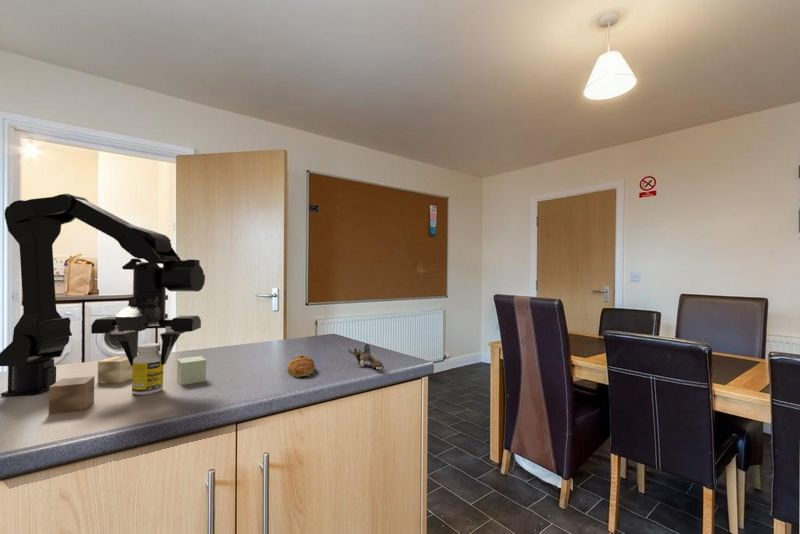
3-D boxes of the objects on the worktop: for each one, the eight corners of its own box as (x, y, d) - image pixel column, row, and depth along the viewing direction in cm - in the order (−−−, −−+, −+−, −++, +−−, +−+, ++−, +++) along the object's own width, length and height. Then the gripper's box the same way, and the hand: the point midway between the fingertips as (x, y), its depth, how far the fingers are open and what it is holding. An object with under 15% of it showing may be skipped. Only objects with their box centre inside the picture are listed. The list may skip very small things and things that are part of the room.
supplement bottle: (147, 396, 74) (148, 348, 74) (125, 394, 75) (126, 346, 75) (169, 388, 79) (170, 343, 79) (148, 386, 80) (149, 341, 80)
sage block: (181, 385, 82) (181, 363, 82) (177, 380, 85) (177, 358, 85) (205, 381, 85) (206, 359, 85) (200, 376, 89) (201, 355, 89)
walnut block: (48, 415, 64) (49, 386, 64) (60, 405, 69) (61, 379, 69) (84, 410, 66) (85, 383, 66) (93, 401, 71) (94, 376, 71)
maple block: (97, 383, 82) (97, 361, 83) (114, 377, 87) (115, 356, 88) (119, 383, 82) (120, 361, 83) (135, 377, 87) (136, 356, 88)
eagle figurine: (342, 363, 98) (365, 362, 92) (351, 338, 102) (373, 336, 96) (361, 373, 102) (385, 373, 97) (369, 350, 106) (391, 348, 100)
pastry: (317, 377, 89) (317, 362, 89) (288, 380, 86) (288, 364, 86) (312, 368, 98) (312, 353, 98) (286, 370, 95) (286, 355, 95)
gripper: (72, 293, 68) (70, 378, 68) (182, 293, 71) (180, 373, 71) (108, 290, 79) (107, 363, 79) (202, 290, 82) (201, 360, 82)
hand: (148, 365), depth 77 cm, fingers closed on supplement bottle, 5 cm apart
